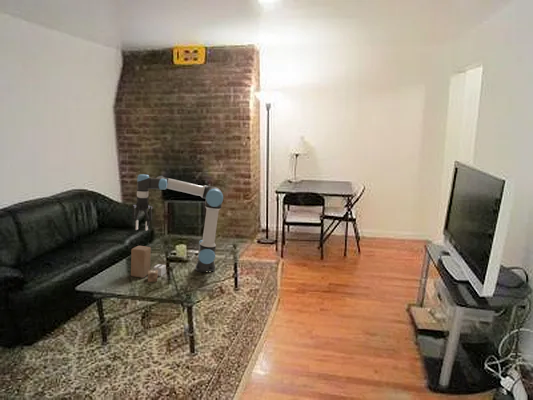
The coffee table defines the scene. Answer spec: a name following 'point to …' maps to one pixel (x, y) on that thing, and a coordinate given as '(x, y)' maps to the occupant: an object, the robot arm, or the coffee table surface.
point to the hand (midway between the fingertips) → (141, 229)
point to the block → (140, 261)
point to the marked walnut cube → (152, 275)
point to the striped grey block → (160, 269)
